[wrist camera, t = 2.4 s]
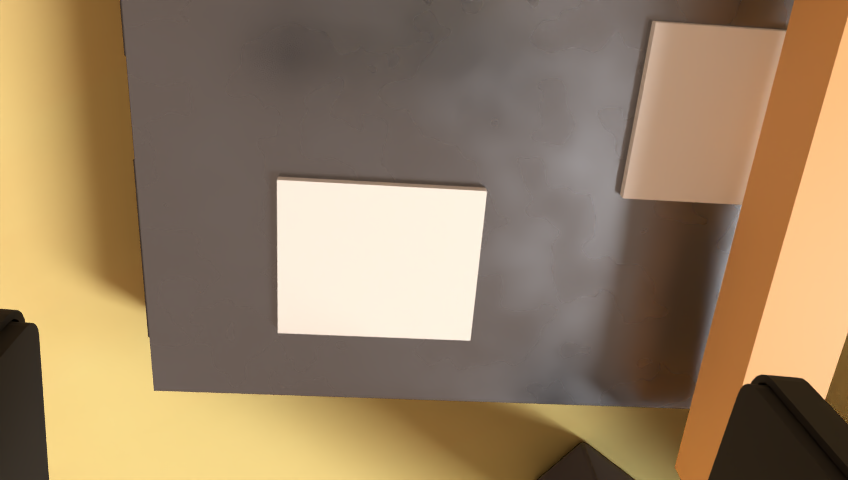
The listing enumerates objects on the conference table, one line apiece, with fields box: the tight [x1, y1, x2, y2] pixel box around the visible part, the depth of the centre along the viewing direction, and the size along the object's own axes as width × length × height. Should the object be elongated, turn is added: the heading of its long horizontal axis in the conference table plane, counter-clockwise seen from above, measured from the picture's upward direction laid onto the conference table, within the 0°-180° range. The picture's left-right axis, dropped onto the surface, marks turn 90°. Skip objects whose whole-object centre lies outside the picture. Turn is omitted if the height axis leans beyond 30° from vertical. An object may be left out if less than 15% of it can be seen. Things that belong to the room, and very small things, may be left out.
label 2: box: [620, 21, 787, 205], centre depth 21 cm, size 6×5×1 cm
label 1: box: [277, 177, 487, 341], centre depth 23 cm, size 6×5×1 cm
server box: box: [120, 0, 794, 409], centre depth 23 cm, size 22×18×6 cm
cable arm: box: [675, 0, 848, 480], centre depth 19 cm, size 20×4×3 cm, turn 176°
